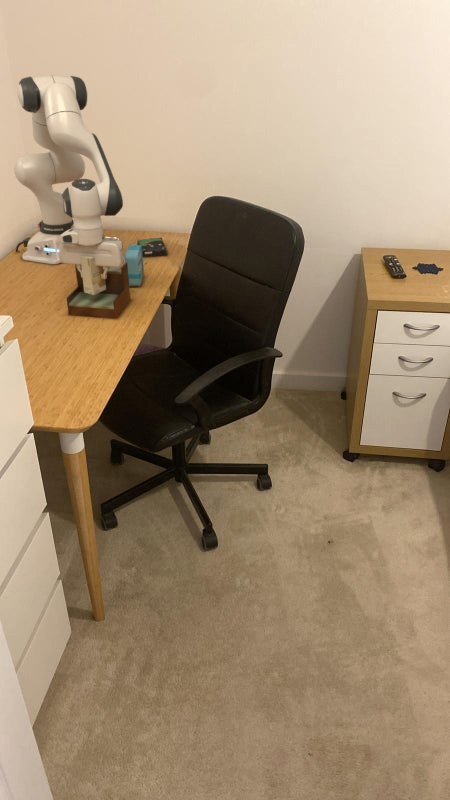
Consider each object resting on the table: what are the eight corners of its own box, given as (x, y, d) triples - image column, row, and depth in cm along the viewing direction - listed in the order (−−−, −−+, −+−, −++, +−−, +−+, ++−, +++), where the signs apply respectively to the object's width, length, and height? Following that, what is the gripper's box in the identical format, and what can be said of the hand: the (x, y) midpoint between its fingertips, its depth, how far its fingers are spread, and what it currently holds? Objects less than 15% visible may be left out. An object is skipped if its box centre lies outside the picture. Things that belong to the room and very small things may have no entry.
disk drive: (167, 256, 257) (161, 243, 269) (167, 249, 255) (161, 237, 268) (141, 258, 255) (136, 245, 267) (141, 251, 253) (136, 238, 266)
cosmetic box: (94, 295, 206) (89, 258, 199) (83, 292, 208) (79, 256, 201) (107, 289, 210) (103, 252, 204) (97, 286, 212) (93, 250, 206)
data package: (139, 288, 229) (137, 255, 223) (126, 287, 229) (124, 255, 223) (144, 275, 239) (141, 243, 233) (131, 275, 239) (129, 243, 233)
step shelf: (68, 315, 210) (63, 275, 203) (84, 296, 222) (80, 259, 215) (116, 318, 207) (112, 279, 200) (130, 300, 220) (127, 262, 213)
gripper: (124, 234, 200) (128, 276, 208) (62, 230, 203) (67, 272, 211) (118, 240, 195) (122, 283, 203) (54, 236, 198) (60, 279, 206)
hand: (94, 277), depth 207 cm, fingers closed on cosmetic box, 5 cm apart
